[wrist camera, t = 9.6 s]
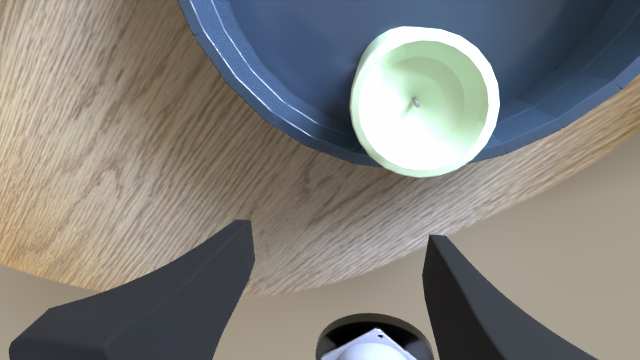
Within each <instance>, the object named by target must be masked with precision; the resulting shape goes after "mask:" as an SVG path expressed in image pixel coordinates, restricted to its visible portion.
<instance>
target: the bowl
mask: <svg viewBox="0 0 640 360" xmlns="http://www.w3.org/2000/svg"><path fill="white" fill-rule="evenodd" d="M177 1H178V3H179V5H180V7H181V10H182V12H183V14H184V16H185V18H186V20H187V22H188V25H189V27H190V29H191V31H192V33H193V35H194V36H195V39H196V40H197V42H198V43H199V44H200V46H201V47H202V49H203V50H204V51H205V53H206V54H207V56H208V57H209V59H210V60H211V61H212V63H213V64H214V66H215V67H216V68H217V70H218V71H219V73H220V74H221V76H222V77H223V78H224V80H225V81H226V83H228V85H229V86H230V87H231V88H232V89H233V90H234V91H235V92H236V93H237V94H238V95H240V96H241V97H242V98H243V99H244V100H245V101H246V102H247V103H248V104H249V105H250V106H251V107H252V108H253V109H254V110H255V111H256V112H257V113H258V114H259V115H260V116H261V117H262V118H263V119H266V121H267V122H269V123H270V124H272V125H273V126H275V127H276V128H278V129H280V130H281V131H283V132H284V133H286V134H288V135H289V136H291V137H292V138H294V139H295V140H297V141H299V142H300V143H302V144H303V145H305V146H308V147H310V148H312V149H315V150H318V151H320V152H323V153H326V154H328V155H331V156H334V157H337V158H339V159H342V160H345V161H347V162H350V163H353V164H360V165H366V166H373V167H380V168H384V167H383V166H381V165H380V164H379V163H378V162H376V161H375V160H374V159H373V158H371V157H370V156H369V154H368V153H367V152H366V150H365V149H364V148H363V146H362V145H361V144H360V142H359V140H358V138H357V136H356V133H355V131H354V128H353V126H352V120H351V114H350V98H351V89H352V85H353V82H354V78H355V75H356V71H357V68H358V65H359V62H360V59H361V56H362V54H363V53H364V51H365V50H366V48H367V47H368V45H369V44H370V43H371V42H372V41H373V40H374V39H375V38H377V37H378V36H379V35H381V34H383V33H384V32H386V31H388V30H390V29H394V28H398V27H403V26H405V27H420V28H431V29H441V30H444V31H447V32H450V33H453V34H456V35H459V36H461V37H462V38H464V39H465V40H467V41H468V42H469V43H471V44H472V45H474V46H475V47H476V48H478V50H479V51H480V52H481V53H482V55H483V56H484V57H485V59H486V60H487V61H488V63H489V64H490V65H491V68H492V71H493V73H494V76H495V78H496V81H497V83H498V92H499V104H500V106H499V111H498V116H497V121H496V126H495V128H494V130H493V132H492V134H491V136H490V138H489V140H488V142H487V144H486V145H485V146H484V147H483V148H482V150H481V151H480V152H479V153H478V154H477V155H476V156H475V157H474V158H473V160H471V161H469V162H468V163H466V164H469V163H473V162H477V161H481V160H485V159H489V158H493V157H497V156H501V155H505V154H508V153H510V152H512V151H515V150H517V149H519V148H521V147H524V146H526V145H528V144H530V143H532V142H535V141H537V140H539V139H541V138H544V137H546V136H548V135H550V134H553V133H555V132H557V131H559V130H561V129H562V128H565V127H566V126H568V125H569V124H571V123H572V122H574V121H575V120H577V119H578V118H580V117H582V116H583V115H585V114H586V113H588V112H589V111H591V110H592V109H594V108H595V107H597V106H598V105H600V104H601V103H603V102H604V101H606V100H607V99H609V98H610V97H612V96H613V95H615V94H616V93H618V92H619V91H620V90H621V89H623V88H625V87H626V86H627V85H628V84H629V83H630V82H631V81H632V80H633V79H634V78H635V77H637V76H638V75H639V74H640V0H177Z"/></svg>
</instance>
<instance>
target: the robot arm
mask: <svg viewBox="0 0 640 360" xmlns="http://www.w3.org/2000/svg"><path fill="white" fill-rule="evenodd" d="M254 262H255V253H254V245H253V236H252V227H251V221H248V220H235V221H234V222H232V223H231V224H229V225H228V226H226V227H225V228H223V229H222V230H220V231H219V232H218V233H216V234H215V235H213V236H212V237H210V238H209V239H207V240H206V241H205V242H203V243H202V244H200V245H199V246H197V247H195V248H194V249H192V250H191V251H189V252H187V253H186V254H184V255H182V256H181V257H179V258H178V259H176V260H174V261H172V262H170V263H169V264H167V265H165V266H163V267H161V268H159V269H157V270H155V271H153V272H151V273H149V274H147V275H144V276H142V277H140V278H137V279H135V280H133V281H131V282H128V283H126V284H124V285H121V286H118V287H116V288H113V289H111V290H108V291H105V292H102V293H99V294H96V295H94V296H91V297H87V298H84V299H81V300H77V301H74V302H70V303H67V304H64V305H60V306H57V307H53V308H49V309H48V310H47V311H46V312H45V313H44V314H43V315H42V316H41V317H39V318H38V319H37V320H36V321H35V322H34V323H33V324H32V325H30V326H29V327H28V328H27V329H26V330H25V331H24V332H23V333H22V334H20V335H19V336H18V337H17V338H16V339H15V340H14V341H13V342H12V343H11V345H10V347H9V357H10V360H212V358H213V356H214V353H215V350H216V348H217V345H218V343H219V339H220V337H221V335H222V333H223V331H224V329H225V327H226V325H227V322H228V321H229V319H230V317H231V315H232V312H233V311H234V309H235V307H236V305H237V303H238V301H239V299H240V297H241V295H242V293H243V290H244V288H245V286H246V284H247V282H248V280H249V277H250V274H251V271H252V268H253V265H254ZM422 277H423V287H424V295H425V301H426V306H427V310H428V314H429V318H430V322H431V326H432V329H433V334H434V337H435V341H436V345H437V349H438V353H439V358H440V360H598V359H596V358H594V357H593V356H591V355H589V354H587V353H586V352H584V351H583V350H581V349H579V348H578V347H576V346H574V345H573V344H571V343H569V342H568V341H566V340H565V339H563V338H561V337H560V336H558V335H557V334H555V333H554V332H552V331H551V330H549V329H548V328H546V327H545V326H543V325H542V324H541V323H539V322H538V321H536V320H535V319H533V318H532V317H531V316H529V315H528V314H527V313H525V312H524V311H523V310H521V309H520V308H519V307H518V306H516V305H515V304H514V303H513V302H512V301H510V300H509V299H508V298H506V297H505V296H504V295H503V294H502V293H501V292H499V290H497V289H496V288H495V287H494V286H493V285H492V284H491V283H490V282H489V281H488V280H487V279H486V278H485V277H484V276H483V275H481V273H479V271H478V270H476V268H475V267H474V266H473V265H472V264H471V263H470V262H469V261H468V260H467V259H466V258H465V257H464V256H463V255H462V253H461V252H460V251H459V250H458V249H457V248H456V247H455V246H454V244H453V243H452V242H451V241H450V240H449V239H448V238H447V237H446V236H442V235H429V240H428V245H427V251H426V257H425V262H424V268H423V274H422ZM321 360H417V359H416V358H415V357H413V356H412V355H411V354H410V353H409V352H408V351H406V350H405V349H404V348H403V347H402V346H401V345H399V344H398V343H397V342H396V341H395V340H394V339H392V338H391V337H390V336H389V335H388V334H387V333H386V332H384V331H383V330H382V329H381V328H379V327H374V328H372V329H370V330H368V331H366V332H364V333H362V334H361V335H359V336H357V337H355V338H353V339H351V340H350V341H348V342H346V343H344V344H342V345H340V346H339V347H337V348H335V349H333V350H331V351H329V352H328V353H326V354H324V355H322V356H321Z"/></svg>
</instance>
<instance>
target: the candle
mask: <svg viewBox="0 0 640 360" xmlns="http://www.w3.org/2000/svg"><path fill="white" fill-rule="evenodd" d="M499 106H500V104H499V92H498V83H497V81H496V78H495V76H494V73H493V71H492V68H491V65H490V64H489V63H488V61H487V60H486V59H485V57H484V56H483V55H482V53H481V52H480V51H479V50H478V48H476V47H475V46H474V45H472V44H471V43H469V42H468V41H467V40H465V39H464V38H462V37H461V36H459V35H456V34H453V33H450V32H447V31H444V30H441V29H431V28H420V27H405V26H403V27H398V28H394V29H390V30H388V31H386V32H384V33H383V34H381V35H379V36H378V37H377V38H375V39H374V40H373V41H372V42H371V43H370V44H369V45H368V47H367V48H366V50H365V51H364V53H363V54H362V56H361V59H360V62H359V65H358V68H357V71H356V75H355V78H354V82H353V85H352V89H351V98H350V114H351V120H352V126H353V128H354V131H355V133H356V136H357V138H358V140H359V142H360V144H361V145H362V146H363V148H364V149H365V150H366V152H367V153H368V154H369V156H370V157H371V158H373V159H374V160H375V161H376V162H378V163H379V164H380V165H381V166H383V167H384V168H386V169H388V170H390V171H393V172H395V173H397V174H399V175H403V176H409V177H415V178H428V177H438V176H441V175H444V174H447V173H450V172H453V171H456V170H457V169H459V168H460V167H462V166H463V165H465V164H466V163H468V162H469V161H471V160H473V158H474V157H475V156H476V155H477V154H478V153H479V152H480V151H481V150H482V148H483V147H484V146H485V145H486V144H487V142H488V140H489V138H490V136H491V134H492V132H493V130H494V128H495V126H496V121H497V116H498V111H499Z"/></svg>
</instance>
